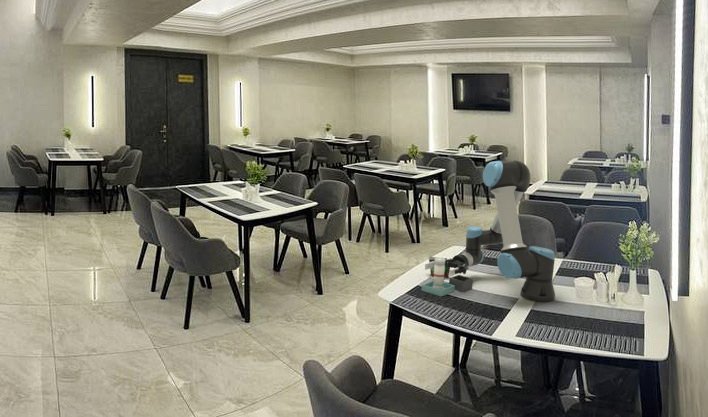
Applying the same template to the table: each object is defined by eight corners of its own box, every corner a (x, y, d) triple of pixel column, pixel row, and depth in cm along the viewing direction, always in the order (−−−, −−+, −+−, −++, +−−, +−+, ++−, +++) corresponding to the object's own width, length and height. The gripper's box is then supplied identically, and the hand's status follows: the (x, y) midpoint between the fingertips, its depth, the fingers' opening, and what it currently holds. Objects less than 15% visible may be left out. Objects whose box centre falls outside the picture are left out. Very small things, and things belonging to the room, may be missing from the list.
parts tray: (454, 291, 275) (454, 285, 275) (441, 296, 267) (441, 290, 267) (435, 285, 283) (435, 280, 282) (421, 290, 275) (421, 285, 274)
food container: (424, 276, 297) (425, 257, 295) (428, 273, 303) (429, 254, 301) (447, 280, 292) (448, 261, 290) (451, 277, 297) (452, 258, 295)
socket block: (472, 288, 280) (472, 278, 279) (463, 292, 274) (463, 282, 274) (457, 284, 286) (458, 274, 285) (448, 288, 280) (449, 278, 279)
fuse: (445, 289, 275) (447, 259, 273) (440, 292, 271) (441, 261, 269) (436, 287, 278) (438, 256, 276) (430, 289, 275) (432, 258, 272)
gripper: (484, 274, 280) (460, 283, 264) (440, 263, 296) (415, 271, 281) (485, 259, 279) (461, 267, 263) (441, 249, 295) (416, 256, 279)
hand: (437, 269), depth 272 cm, fingers open, 13 cm apart
